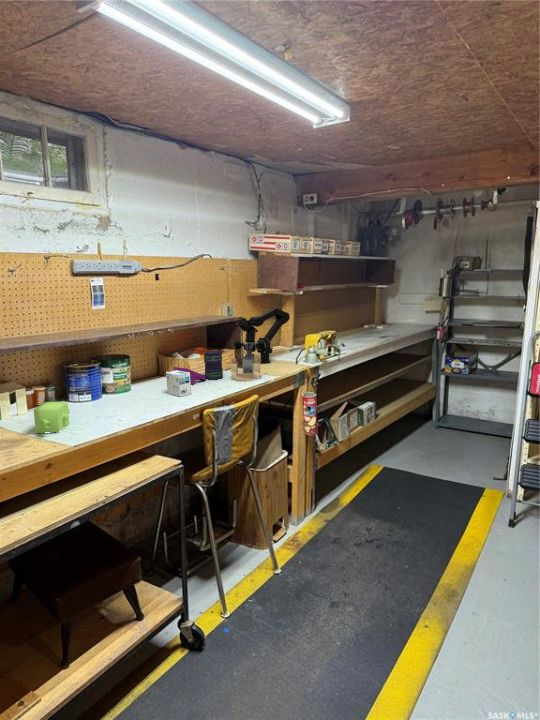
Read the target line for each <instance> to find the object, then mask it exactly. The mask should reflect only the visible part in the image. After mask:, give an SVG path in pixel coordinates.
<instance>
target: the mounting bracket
mask: <svg viewBox="0 0 540 720" xmlns="http://www.w3.org/2000/svg"><path fill="white" fill-rule="evenodd" d="M176 370H178V371H183V372H189V373H190V383H191V385H192V386H193V385H195V382H196V380H198V379H200V380H199V381H207V380H206V376H205V374H202V373H199V372H197V371H195V370H193V369H191V368H186V367H178V366H174V367H173V369H172V371H176Z"/></svg>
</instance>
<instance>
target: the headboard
mask: <svg viewBox="0 0 540 720" xmlns="http://www.w3.org/2000/svg"><path fill="white" fill-rule="evenodd" d="M254 358H255V359H254V363H253V364H254V373H243V372H242V373H240V372H239V369H238V361H237V358H234V357H233V358H232V359H231V363H230V370H231V380H232V381H236V382H254V381H255V380H254V379H260V380H261V363H260V358H258V357H254ZM253 380H254V381H253Z"/></svg>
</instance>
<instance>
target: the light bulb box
mask: <svg viewBox="0 0 540 720" xmlns="http://www.w3.org/2000/svg"><path fill="white" fill-rule="evenodd" d="M165 376H166V388H167V389H166V393H167V395H171V394H172V395H171V396H174V395H175V396H176V397H178V396H179V397H180V398H181V396H182V397H186V396H189V395H192V386H191V383H190V373H189V372H183V371H178V370H176V371H173V370H171V371H166V372H165ZM185 395H186V396H185Z"/></svg>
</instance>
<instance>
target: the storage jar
mask: <svg viewBox="0 0 540 720" xmlns="http://www.w3.org/2000/svg"><path fill="white" fill-rule="evenodd" d="M203 362H204V375H205V376H206V379H208V380H207V381H210V380H213V381H219V380H218V379H221V380H223V379H224V376H223V375H224V372H223V371H224V369H223V351H222V350H219V349H218V350H217V349H213V350H212V349H211V350H205V351H203ZM222 378H223V379H222Z"/></svg>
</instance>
